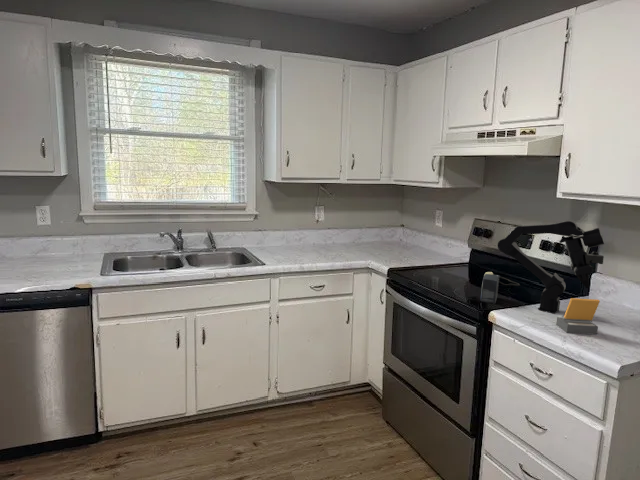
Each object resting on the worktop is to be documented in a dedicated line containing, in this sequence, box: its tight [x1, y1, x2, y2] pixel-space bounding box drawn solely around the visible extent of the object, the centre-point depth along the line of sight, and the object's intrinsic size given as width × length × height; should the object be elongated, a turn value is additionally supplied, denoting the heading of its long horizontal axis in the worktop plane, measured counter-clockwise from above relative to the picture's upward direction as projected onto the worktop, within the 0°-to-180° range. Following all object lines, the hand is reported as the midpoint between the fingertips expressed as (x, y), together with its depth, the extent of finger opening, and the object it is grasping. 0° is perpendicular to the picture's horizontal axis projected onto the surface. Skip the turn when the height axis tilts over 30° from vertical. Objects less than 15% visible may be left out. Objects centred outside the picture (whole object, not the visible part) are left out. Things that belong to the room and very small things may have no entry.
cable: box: [483, 271, 521, 287], centre depth 238 cm, size 16×16×4 cm
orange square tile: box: [562, 297, 600, 323], centre depth 169 cm, size 1×10×10 cm, turn 88°
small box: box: [480, 273, 500, 305], centre depth 204 cm, size 11×6×10 cm, turn 155°
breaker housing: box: [555, 317, 599, 335], centre depth 171 cm, size 8×11×3 cm
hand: (587, 287), depth 184 cm, fingers closed
